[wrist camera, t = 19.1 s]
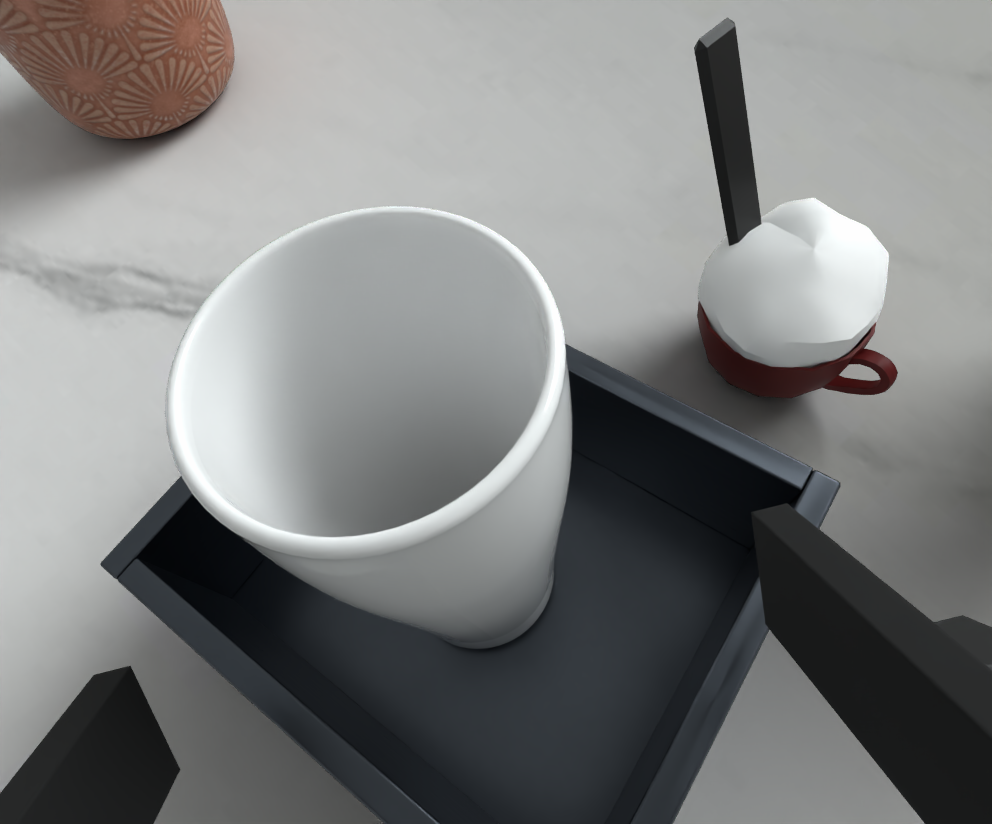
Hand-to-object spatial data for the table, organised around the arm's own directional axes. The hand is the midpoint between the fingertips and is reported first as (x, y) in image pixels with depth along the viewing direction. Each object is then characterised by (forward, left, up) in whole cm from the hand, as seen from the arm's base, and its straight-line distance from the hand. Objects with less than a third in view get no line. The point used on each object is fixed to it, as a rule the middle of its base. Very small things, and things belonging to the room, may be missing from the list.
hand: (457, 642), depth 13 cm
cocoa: (+1, +17, -10) cm, 20 cm away
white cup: (-3, +3, -10) cm, 10 cm away
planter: (-38, +16, -10) cm, 42 cm away
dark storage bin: (-3, +3, -10) cm, 11 cm away
